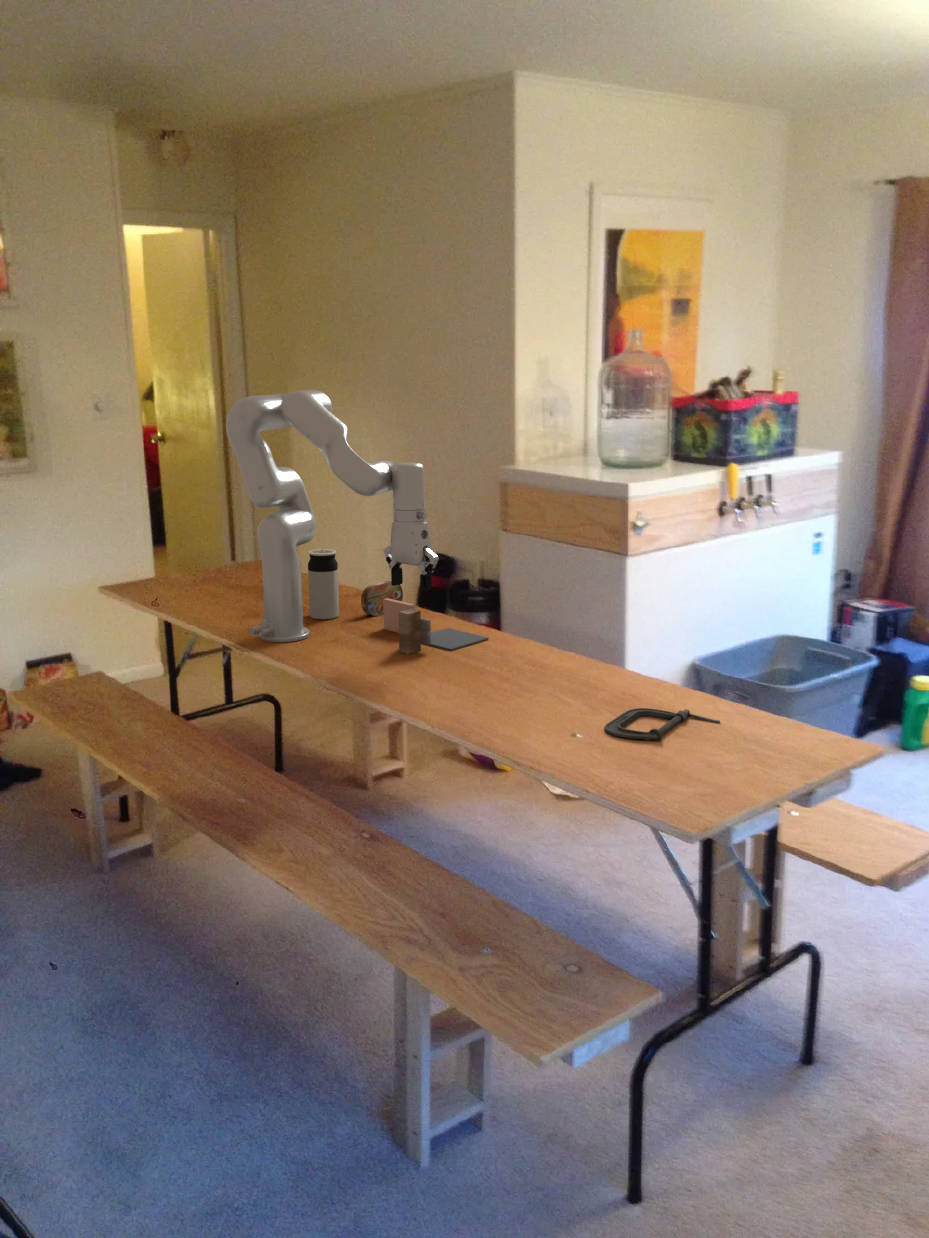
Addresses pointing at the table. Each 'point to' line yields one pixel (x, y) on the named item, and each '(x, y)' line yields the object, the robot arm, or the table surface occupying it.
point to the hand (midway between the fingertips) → (411, 587)
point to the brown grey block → (413, 631)
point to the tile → (394, 613)
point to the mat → (454, 639)
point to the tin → (379, 597)
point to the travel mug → (323, 584)
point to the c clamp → (654, 734)
